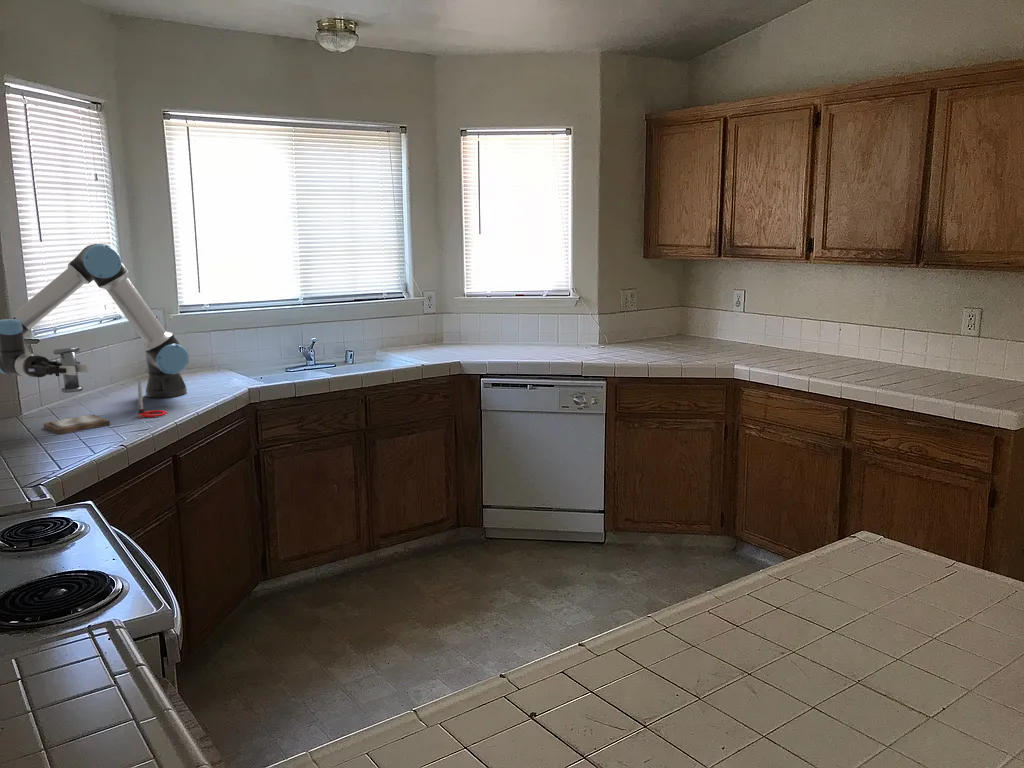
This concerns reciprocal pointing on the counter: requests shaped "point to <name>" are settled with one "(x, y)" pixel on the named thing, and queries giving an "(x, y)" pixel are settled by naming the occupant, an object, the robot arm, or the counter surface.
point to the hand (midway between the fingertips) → (81, 369)
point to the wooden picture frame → (76, 424)
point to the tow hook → (140, 404)
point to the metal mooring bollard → (69, 360)
